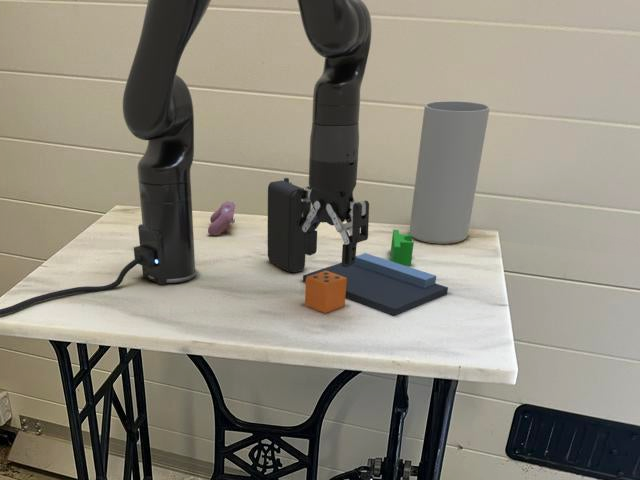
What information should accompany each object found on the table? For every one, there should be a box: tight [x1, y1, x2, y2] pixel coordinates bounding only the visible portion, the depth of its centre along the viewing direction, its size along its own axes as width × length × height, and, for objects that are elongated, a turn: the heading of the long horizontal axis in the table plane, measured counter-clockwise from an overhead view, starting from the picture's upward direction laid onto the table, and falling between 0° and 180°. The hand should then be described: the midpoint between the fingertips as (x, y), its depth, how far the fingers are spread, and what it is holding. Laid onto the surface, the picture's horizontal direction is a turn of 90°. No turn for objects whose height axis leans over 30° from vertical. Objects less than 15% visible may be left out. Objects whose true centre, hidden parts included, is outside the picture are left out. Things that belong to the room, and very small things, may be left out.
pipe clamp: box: [390, 229, 414, 267], centre depth 145 cm, size 11×4×5 cm, turn 173°
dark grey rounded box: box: [267, 180, 307, 273], centre depth 139 cm, size 9×4×15 cm, turn 31°
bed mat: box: [302, 252, 449, 316], centre depth 133 cm, size 15×22×3 cm
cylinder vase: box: [408, 100, 491, 245], centre depth 151 cm, size 12×12×25 cm
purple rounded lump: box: [207, 200, 236, 236], centre depth 161 cm, size 10×5×7 cm, turn 179°
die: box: [304, 271, 347, 314], centre depth 126 cm, size 5×5×5 cm
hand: (328, 260), depth 123 cm, fingers open, 8 cm apart
